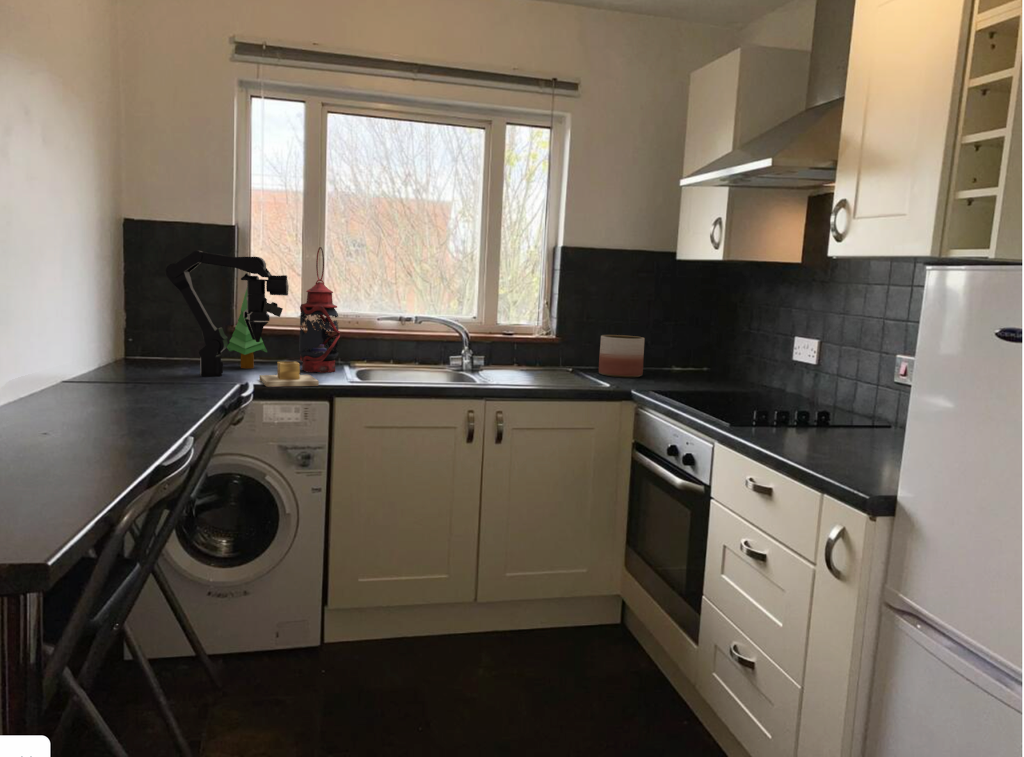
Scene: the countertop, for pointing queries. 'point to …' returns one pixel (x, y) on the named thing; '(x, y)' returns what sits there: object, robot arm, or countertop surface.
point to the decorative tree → (244, 340)
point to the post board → (288, 381)
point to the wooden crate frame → (288, 370)
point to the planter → (621, 356)
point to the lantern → (318, 328)
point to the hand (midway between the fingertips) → (256, 340)
